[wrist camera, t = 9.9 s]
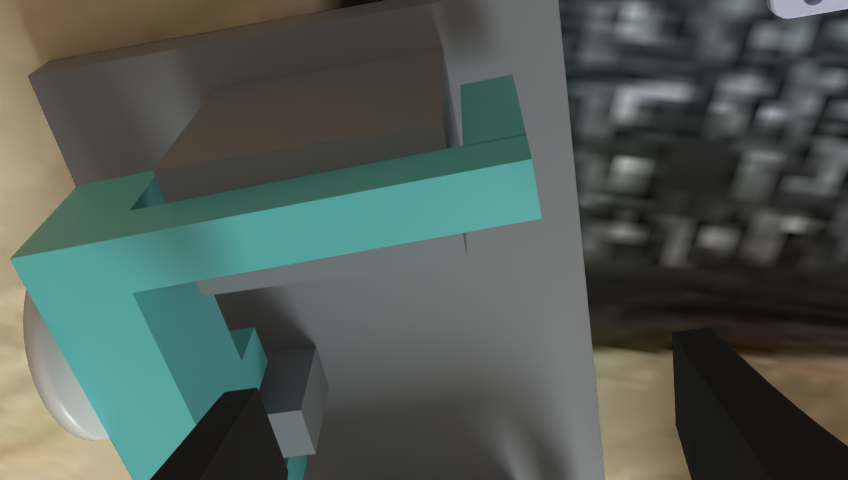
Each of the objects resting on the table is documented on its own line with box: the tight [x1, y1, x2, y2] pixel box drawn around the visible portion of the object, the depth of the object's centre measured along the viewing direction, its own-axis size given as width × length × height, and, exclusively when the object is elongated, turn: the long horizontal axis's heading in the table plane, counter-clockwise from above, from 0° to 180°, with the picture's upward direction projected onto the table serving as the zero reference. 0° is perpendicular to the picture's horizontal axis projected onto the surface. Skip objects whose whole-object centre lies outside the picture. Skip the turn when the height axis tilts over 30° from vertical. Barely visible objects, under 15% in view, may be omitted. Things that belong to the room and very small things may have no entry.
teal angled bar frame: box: [10, 74, 542, 480], centre depth 20 cm, size 10×16×5 cm, turn 13°
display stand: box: [28, 0, 605, 480], centre depth 22 cm, size 13×20×6 cm, turn 10°
